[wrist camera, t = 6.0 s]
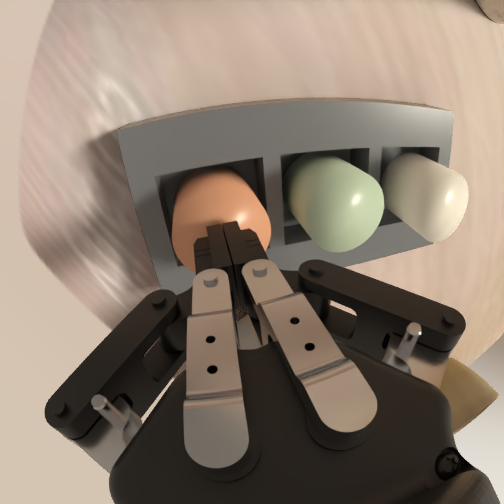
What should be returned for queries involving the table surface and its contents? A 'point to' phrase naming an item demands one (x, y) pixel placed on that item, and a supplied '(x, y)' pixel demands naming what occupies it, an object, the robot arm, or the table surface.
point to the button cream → (425, 195)
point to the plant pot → (465, 393)
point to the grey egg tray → (276, 166)
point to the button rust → (214, 208)
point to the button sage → (332, 200)
